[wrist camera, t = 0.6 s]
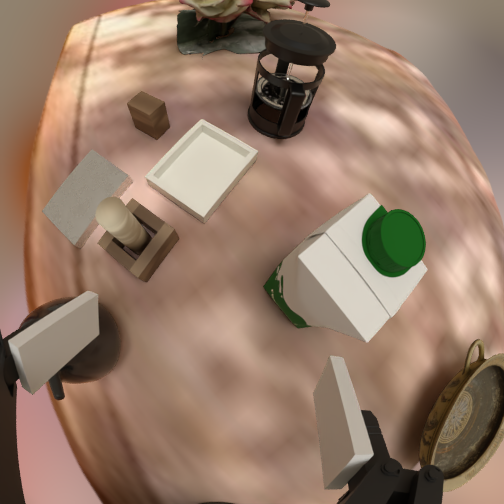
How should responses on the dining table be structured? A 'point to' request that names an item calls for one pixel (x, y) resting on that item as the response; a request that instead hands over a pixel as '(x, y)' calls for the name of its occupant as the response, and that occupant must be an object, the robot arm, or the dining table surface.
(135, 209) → the socket block
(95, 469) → the dining table surface
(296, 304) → the milk carton
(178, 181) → the tray
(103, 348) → the pump dispenser
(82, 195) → the plate
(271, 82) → the french press
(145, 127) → the wooden block
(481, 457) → the ceramic bowl
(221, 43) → the rose bouquet
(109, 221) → the dowel
